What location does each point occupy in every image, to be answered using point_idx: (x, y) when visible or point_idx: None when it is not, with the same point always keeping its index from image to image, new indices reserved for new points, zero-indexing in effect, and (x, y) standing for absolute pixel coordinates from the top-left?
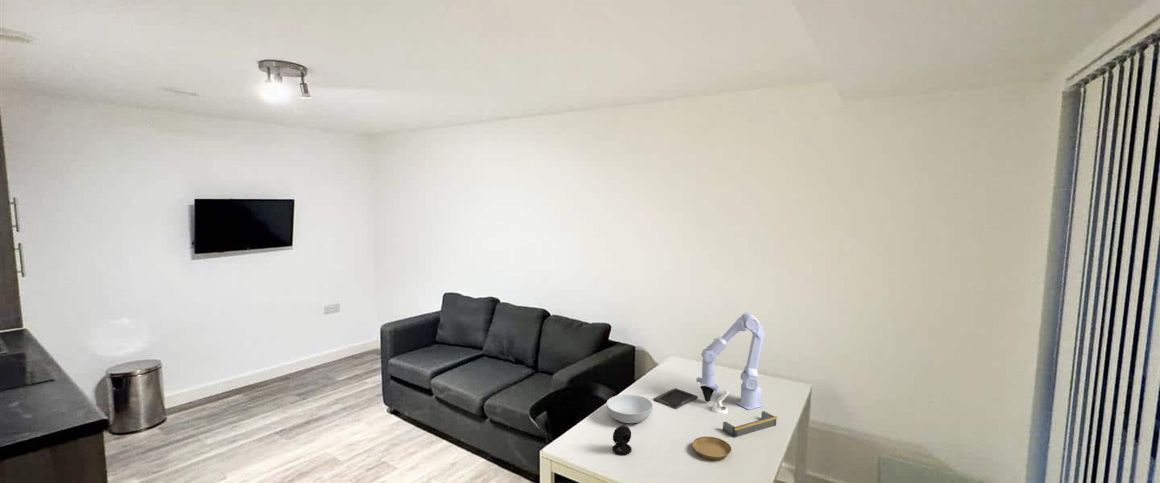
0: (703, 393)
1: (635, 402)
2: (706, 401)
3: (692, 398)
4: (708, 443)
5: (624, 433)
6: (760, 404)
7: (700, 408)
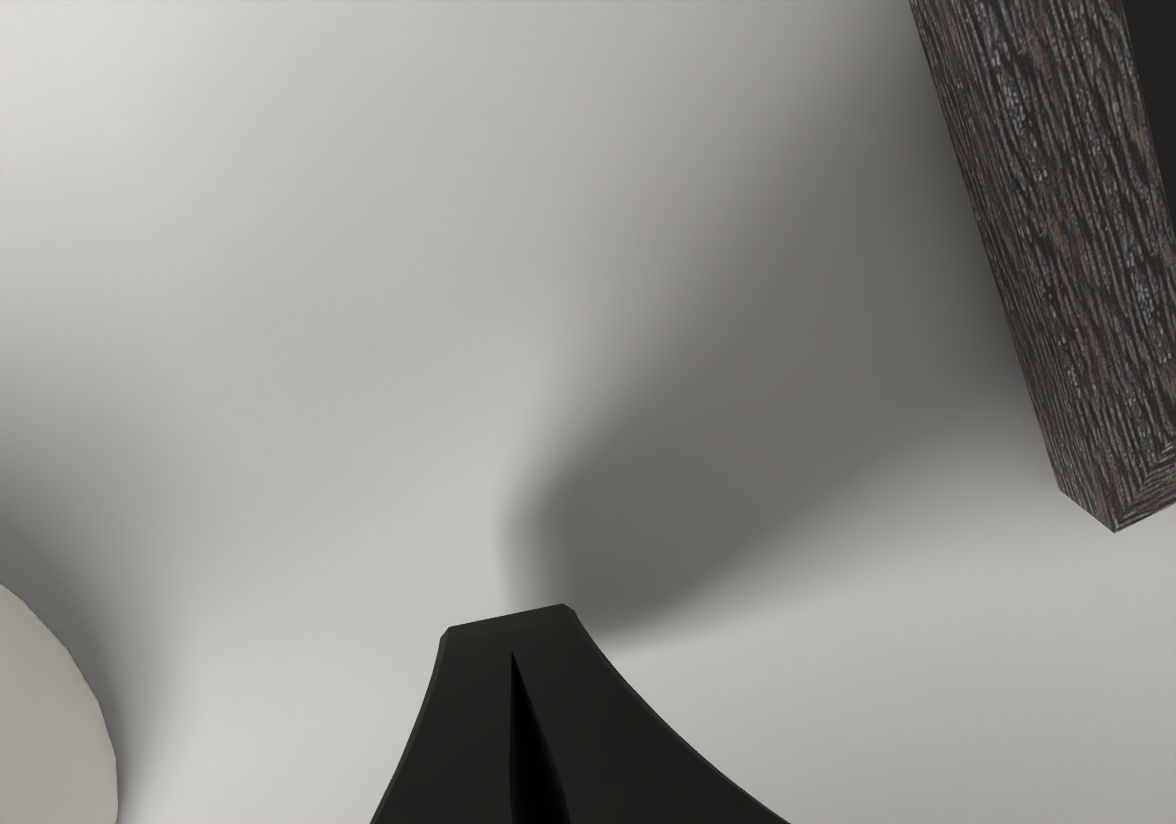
0: (689, 784)
1: None
2: (461, 626)
3: (1014, 170)
4: None
5: None
6: None
7: (59, 66)
